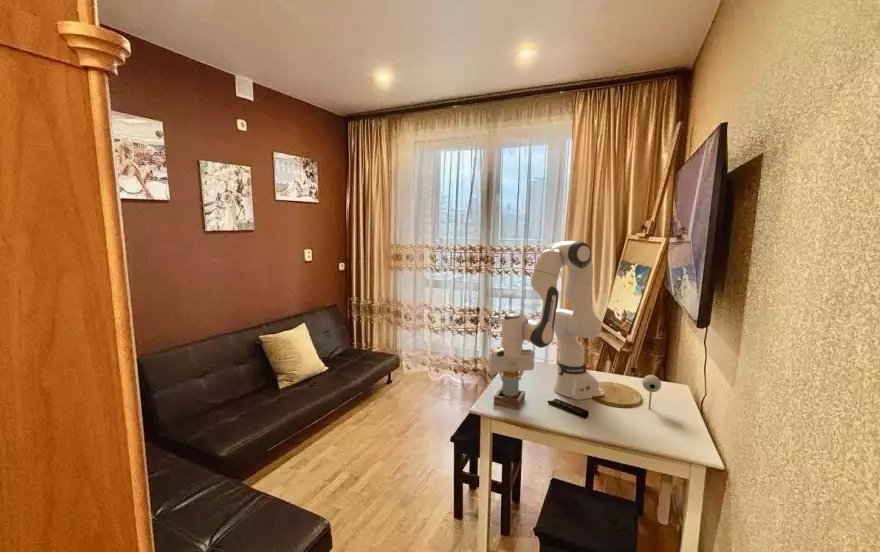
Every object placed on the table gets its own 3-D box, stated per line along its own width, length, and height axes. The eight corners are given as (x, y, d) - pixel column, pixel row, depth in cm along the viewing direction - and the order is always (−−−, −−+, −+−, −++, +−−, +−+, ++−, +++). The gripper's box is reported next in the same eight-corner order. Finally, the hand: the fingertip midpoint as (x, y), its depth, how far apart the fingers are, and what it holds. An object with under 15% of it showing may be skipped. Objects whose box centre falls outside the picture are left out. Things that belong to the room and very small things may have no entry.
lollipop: (641, 410, 163) (644, 377, 161) (639, 403, 170) (642, 371, 168) (659, 413, 161) (663, 380, 159) (657, 406, 167) (660, 373, 165)
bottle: (521, 394, 170) (522, 362, 168) (513, 399, 165) (513, 366, 163) (507, 389, 174) (508, 358, 172) (499, 395, 169) (500, 362, 167)
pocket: (501, 394, 177) (501, 386, 177) (524, 399, 173) (524, 391, 172) (493, 404, 168) (494, 396, 167) (518, 410, 163) (518, 401, 162)
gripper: (531, 346, 171) (530, 375, 173) (487, 348, 168) (486, 378, 170) (537, 351, 165) (535, 381, 167) (490, 353, 162) (490, 384, 164)
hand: (510, 379), depth 169 cm, fingers closed on bottle, 6 cm apart
